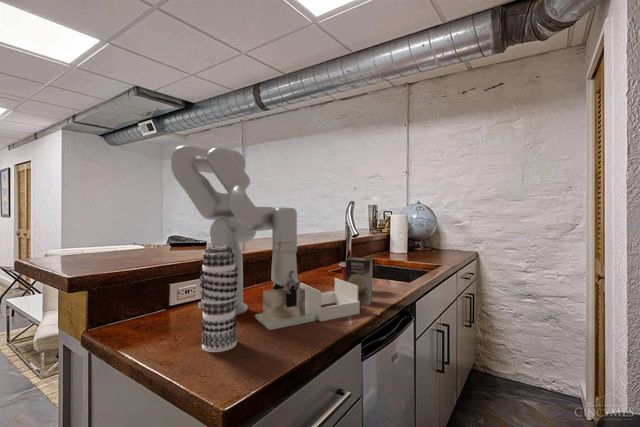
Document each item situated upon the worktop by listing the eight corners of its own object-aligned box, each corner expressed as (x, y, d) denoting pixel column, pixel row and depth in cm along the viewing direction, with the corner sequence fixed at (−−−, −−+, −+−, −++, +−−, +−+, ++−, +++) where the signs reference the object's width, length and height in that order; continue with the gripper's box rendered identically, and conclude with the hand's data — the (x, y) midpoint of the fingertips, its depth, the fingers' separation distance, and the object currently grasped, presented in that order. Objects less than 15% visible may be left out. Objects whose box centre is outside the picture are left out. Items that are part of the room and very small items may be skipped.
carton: (320, 321, 99) (320, 292, 99) (298, 308, 112) (298, 282, 112) (359, 313, 106) (359, 286, 106) (335, 302, 119) (335, 277, 119)
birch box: (269, 321, 96) (269, 294, 96) (263, 316, 100) (263, 291, 100) (305, 315, 102) (305, 289, 102) (298, 310, 106) (298, 286, 106)
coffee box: (344, 303, 118) (344, 259, 117) (348, 298, 124) (348, 256, 123) (369, 305, 115) (369, 260, 114) (372, 301, 121) (373, 257, 120)
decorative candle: (240, 349, 79) (240, 247, 79) (200, 355, 76) (199, 249, 76) (236, 335, 88) (236, 243, 88) (200, 340, 85) (199, 245, 84)
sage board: (269, 330, 92) (269, 326, 92) (255, 317, 102) (255, 314, 102) (315, 320, 100) (315, 317, 100) (297, 310, 110) (297, 307, 110)
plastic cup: (339, 287, 141) (339, 260, 141) (365, 288, 139) (365, 260, 139) (337, 294, 130) (337, 264, 130) (365, 295, 129) (365, 265, 128)
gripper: (263, 245, 106) (263, 297, 106) (285, 251, 91) (285, 312, 91) (284, 243, 110) (284, 294, 110) (308, 249, 95) (308, 307, 95)
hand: (284, 302), depth 101 cm, fingers open, 9 cm apart
